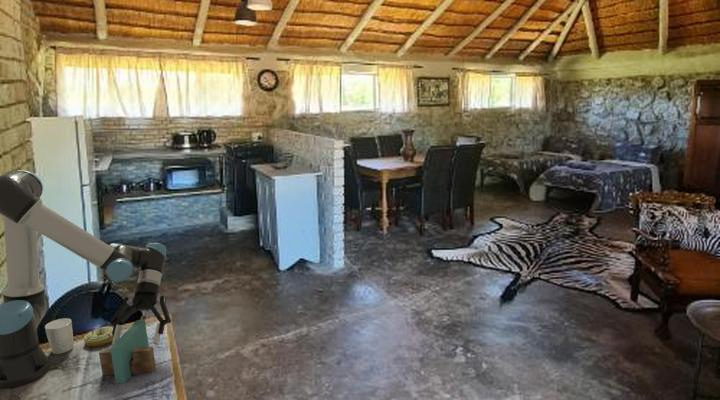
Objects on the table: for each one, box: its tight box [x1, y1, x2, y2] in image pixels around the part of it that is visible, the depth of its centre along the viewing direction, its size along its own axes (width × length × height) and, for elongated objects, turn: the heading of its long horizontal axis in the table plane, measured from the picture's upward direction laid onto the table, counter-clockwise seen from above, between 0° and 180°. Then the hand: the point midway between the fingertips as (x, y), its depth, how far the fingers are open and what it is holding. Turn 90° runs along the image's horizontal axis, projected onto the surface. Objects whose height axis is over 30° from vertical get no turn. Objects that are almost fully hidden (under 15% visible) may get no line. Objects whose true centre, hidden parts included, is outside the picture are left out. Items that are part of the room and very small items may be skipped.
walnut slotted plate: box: [98, 346, 157, 376], centre depth 149 cm, size 16×2×8 cm, turn 92°
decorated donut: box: [83, 325, 114, 348], centre depth 170 cm, size 10×11×4 cm
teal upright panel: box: [110, 319, 150, 384], centre depth 152 cm, size 18×3×12 cm, turn 2°
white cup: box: [44, 317, 74, 355], centre depth 164 cm, size 8×8×10 cm
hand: (135, 344), depth 155 cm, fingers open, 13 cm apart
